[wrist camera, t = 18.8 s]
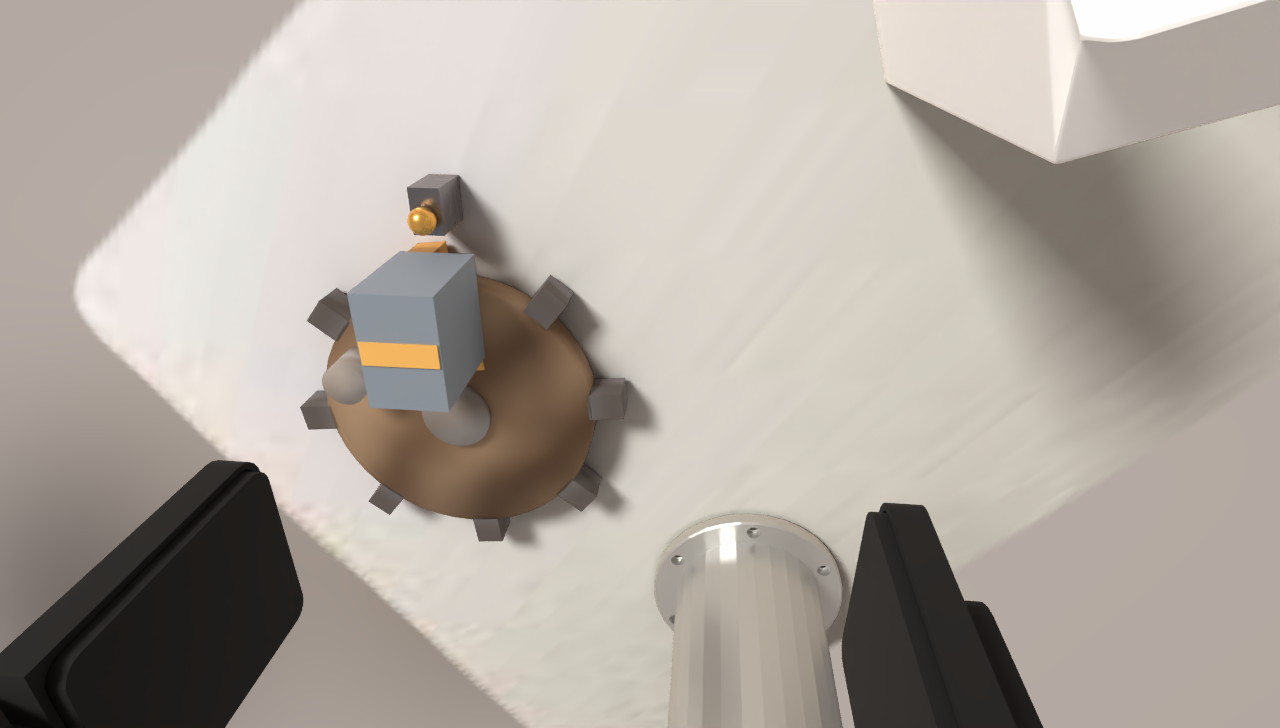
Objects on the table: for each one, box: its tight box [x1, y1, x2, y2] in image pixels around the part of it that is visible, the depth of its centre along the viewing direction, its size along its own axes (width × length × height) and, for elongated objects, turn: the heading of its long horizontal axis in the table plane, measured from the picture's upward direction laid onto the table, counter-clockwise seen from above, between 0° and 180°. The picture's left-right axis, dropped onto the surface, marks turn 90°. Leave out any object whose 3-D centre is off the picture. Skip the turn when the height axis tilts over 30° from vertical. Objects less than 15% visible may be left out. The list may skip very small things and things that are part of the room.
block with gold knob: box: [407, 174, 463, 236], centre depth 36 cm, size 2×2×4 cm
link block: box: [347, 251, 485, 412], centre depth 35 cm, size 6×4×6 cm, turn 179°
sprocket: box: [300, 241, 628, 541], centre depth 41 cm, size 20×20×4 cm
